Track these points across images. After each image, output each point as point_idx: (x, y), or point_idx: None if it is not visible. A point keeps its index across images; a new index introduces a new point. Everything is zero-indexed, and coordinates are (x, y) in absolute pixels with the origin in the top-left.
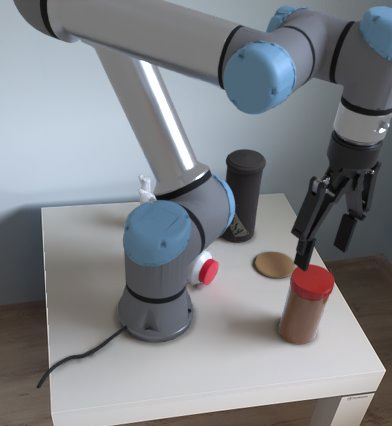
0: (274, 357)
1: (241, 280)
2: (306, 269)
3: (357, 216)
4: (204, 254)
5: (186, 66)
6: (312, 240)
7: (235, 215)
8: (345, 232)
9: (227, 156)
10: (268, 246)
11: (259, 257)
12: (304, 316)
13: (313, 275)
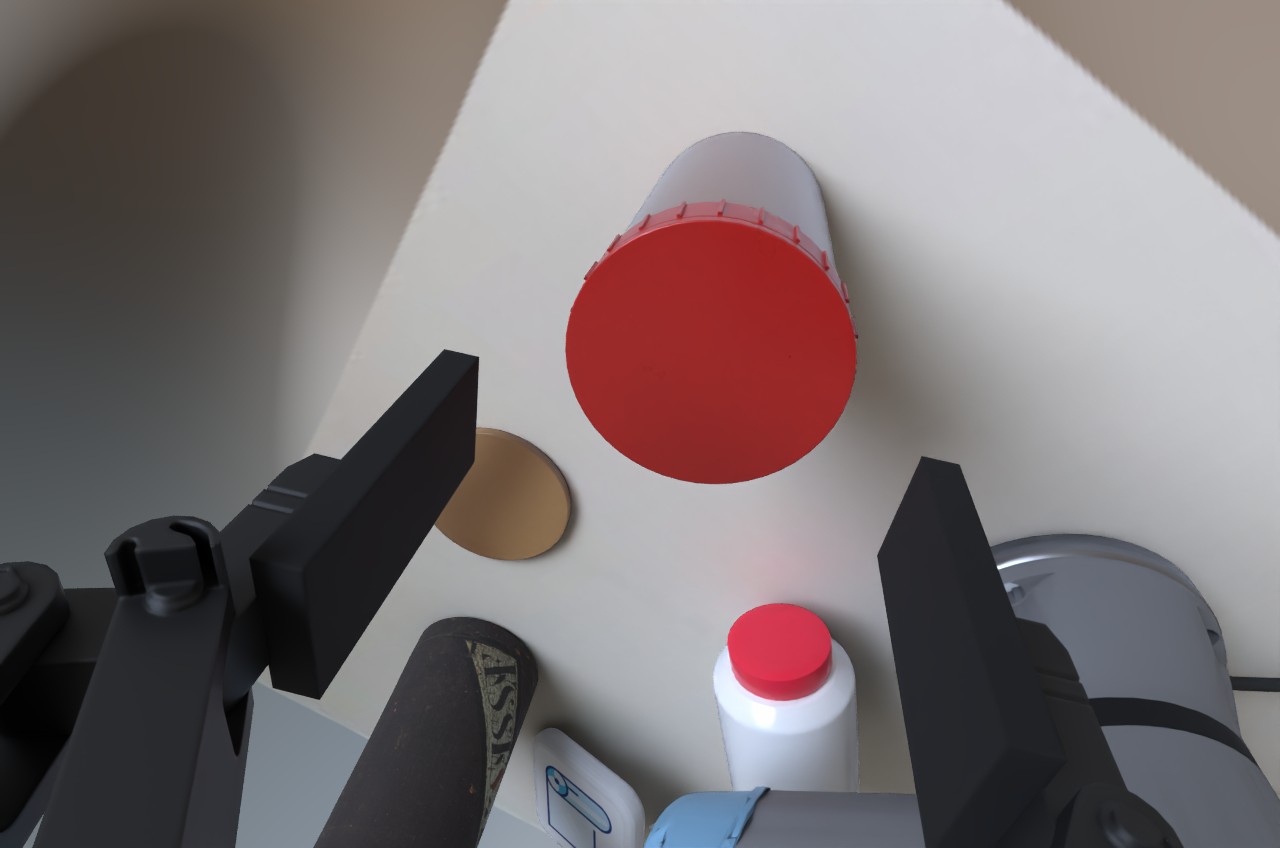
0: (962, 198)
1: (660, 534)
2: (940, 468)
3: (221, 618)
4: (775, 727)
5: None
6: (1061, 761)
7: (490, 745)
8: (398, 506)
9: None
10: (434, 558)
11: (515, 553)
12: (824, 228)
13: (683, 376)
